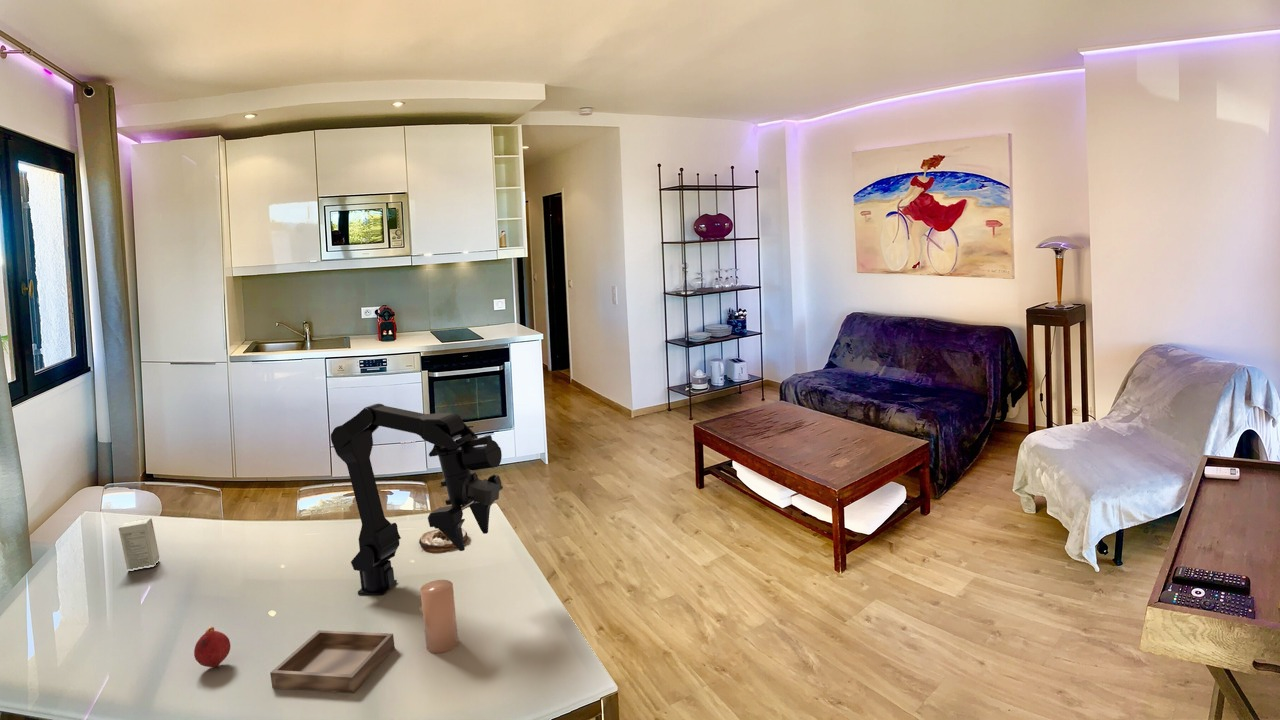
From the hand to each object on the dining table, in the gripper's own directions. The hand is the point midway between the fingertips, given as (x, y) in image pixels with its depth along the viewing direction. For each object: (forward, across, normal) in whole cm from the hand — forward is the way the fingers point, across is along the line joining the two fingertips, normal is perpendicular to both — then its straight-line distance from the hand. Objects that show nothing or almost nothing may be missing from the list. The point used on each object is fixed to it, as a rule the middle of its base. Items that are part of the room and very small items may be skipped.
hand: (474, 541), depth 148 cm
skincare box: (-3, -4, +98) cm, 99 cm away
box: (+11, -28, +16) cm, 34 cm away
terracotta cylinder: (+14, -16, +1) cm, 22 cm away
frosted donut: (+10, +26, +30) cm, 41 cm away
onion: (+7, -34, +39) cm, 52 cm away
